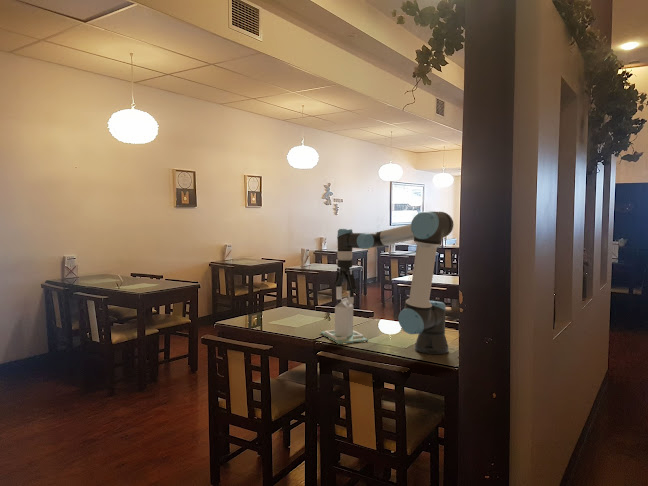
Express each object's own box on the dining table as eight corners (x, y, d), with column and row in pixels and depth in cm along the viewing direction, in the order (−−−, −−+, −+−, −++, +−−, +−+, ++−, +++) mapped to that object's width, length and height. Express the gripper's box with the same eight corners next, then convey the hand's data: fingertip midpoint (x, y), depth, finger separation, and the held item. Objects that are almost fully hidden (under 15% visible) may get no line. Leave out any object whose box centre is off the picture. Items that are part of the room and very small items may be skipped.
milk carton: (334, 336, 235) (334, 298, 234) (340, 332, 241) (341, 296, 240) (347, 337, 232) (347, 300, 231) (353, 334, 238) (353, 298, 237)
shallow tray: (367, 341, 230) (368, 336, 230) (338, 344, 223) (338, 340, 223) (347, 331, 250) (348, 326, 250) (320, 333, 244) (320, 329, 243)
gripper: (363, 261, 224) (363, 304, 225) (340, 257, 247) (340, 297, 248) (349, 261, 221) (349, 305, 222) (327, 257, 244) (327, 298, 245)
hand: (344, 301), depth 235 cm, fingers open, 13 cm apart
